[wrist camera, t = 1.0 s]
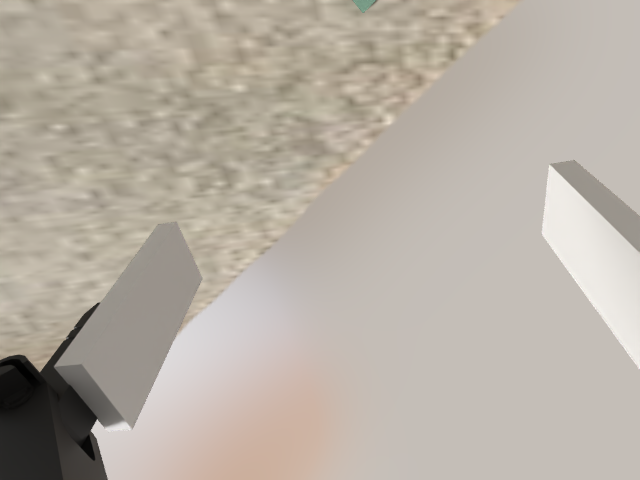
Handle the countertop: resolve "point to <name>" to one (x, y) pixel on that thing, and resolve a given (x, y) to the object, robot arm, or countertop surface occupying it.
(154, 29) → the countertop surface
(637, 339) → the robot arm
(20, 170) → the countertop surface
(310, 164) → the countertop surface
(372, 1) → the header board
